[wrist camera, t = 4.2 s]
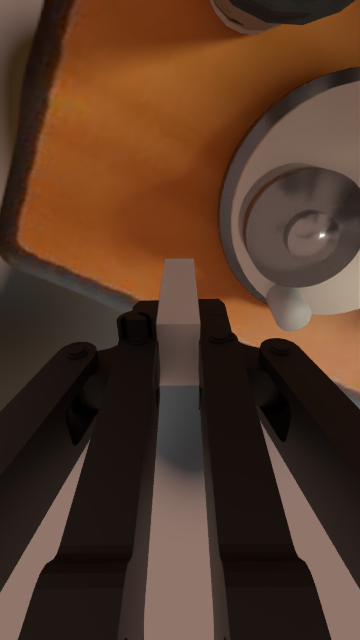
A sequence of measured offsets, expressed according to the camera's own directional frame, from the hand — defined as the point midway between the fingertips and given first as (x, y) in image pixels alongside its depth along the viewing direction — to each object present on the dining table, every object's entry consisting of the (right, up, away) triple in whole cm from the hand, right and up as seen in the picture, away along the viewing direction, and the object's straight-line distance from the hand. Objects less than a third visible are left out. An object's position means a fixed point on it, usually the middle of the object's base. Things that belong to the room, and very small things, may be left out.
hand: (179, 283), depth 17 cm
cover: (+10, +7, +12) cm, 17 cm away
